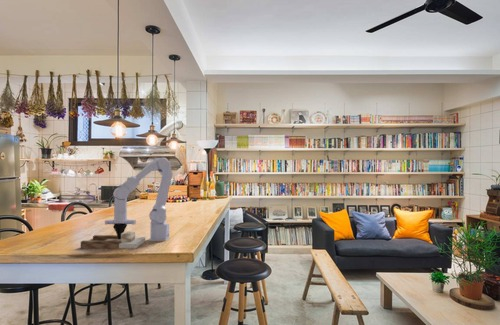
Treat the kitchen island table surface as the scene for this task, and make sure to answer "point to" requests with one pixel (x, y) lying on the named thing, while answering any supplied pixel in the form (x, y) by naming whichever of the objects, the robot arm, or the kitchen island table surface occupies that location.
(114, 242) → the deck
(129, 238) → the cube
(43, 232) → the kitchen island table surface
